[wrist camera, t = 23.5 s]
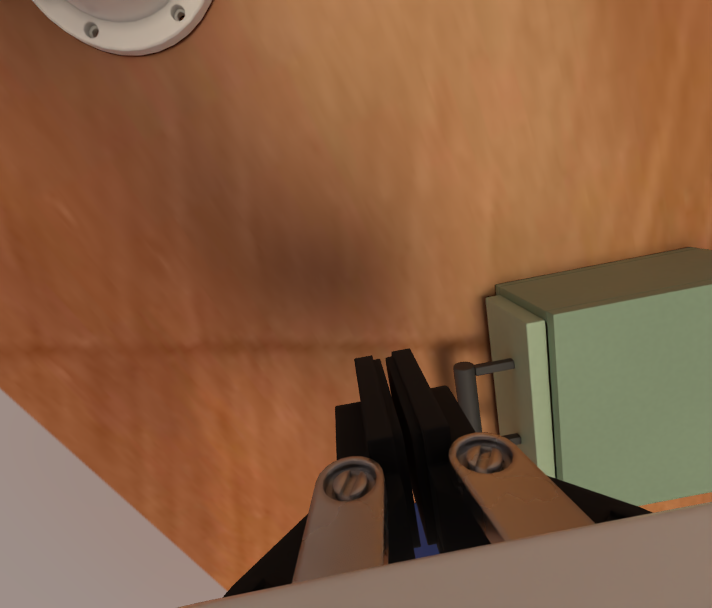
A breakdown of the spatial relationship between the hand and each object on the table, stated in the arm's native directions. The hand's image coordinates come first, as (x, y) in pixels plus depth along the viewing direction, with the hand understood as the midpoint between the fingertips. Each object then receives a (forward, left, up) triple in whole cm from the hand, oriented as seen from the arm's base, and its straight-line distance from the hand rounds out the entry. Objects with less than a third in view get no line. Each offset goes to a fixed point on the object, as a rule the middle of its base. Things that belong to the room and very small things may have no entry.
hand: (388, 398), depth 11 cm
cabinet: (+18, -10, -19) cm, 28 cm away
